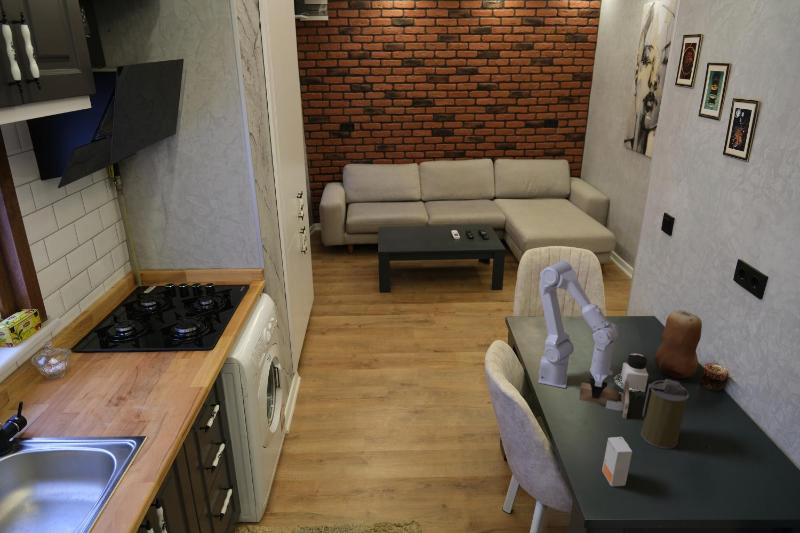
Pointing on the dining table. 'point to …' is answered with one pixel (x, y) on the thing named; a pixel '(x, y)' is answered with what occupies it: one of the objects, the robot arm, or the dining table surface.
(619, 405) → the bracket
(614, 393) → the brown wooden block
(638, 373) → the medicine bottle
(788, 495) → the dining table surface
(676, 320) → the butternut squash
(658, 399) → the canister
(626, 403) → the wall plate
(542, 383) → the robot arm
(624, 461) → the skincare box
